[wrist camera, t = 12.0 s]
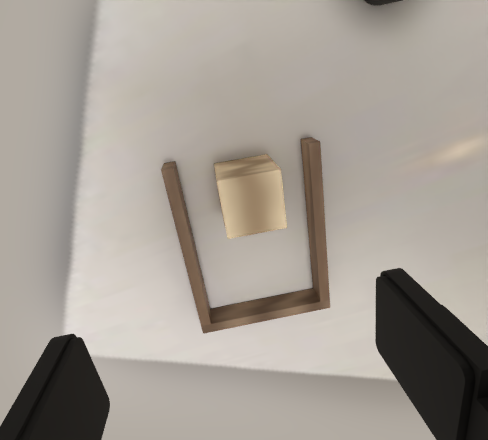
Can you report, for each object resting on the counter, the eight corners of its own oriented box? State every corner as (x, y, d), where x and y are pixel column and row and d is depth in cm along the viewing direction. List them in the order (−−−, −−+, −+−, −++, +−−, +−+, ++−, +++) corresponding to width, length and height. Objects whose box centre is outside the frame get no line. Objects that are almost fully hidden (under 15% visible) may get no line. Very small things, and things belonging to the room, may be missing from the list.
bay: (311, 137, 37) (320, 141, 34) (322, 293, 45) (330, 307, 43) (164, 163, 36) (161, 170, 34) (203, 317, 45) (203, 333, 42)
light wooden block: (267, 154, 37) (281, 169, 31) (273, 203, 40) (287, 227, 33) (213, 163, 37) (216, 181, 31) (222, 213, 39) (227, 239, 33)
